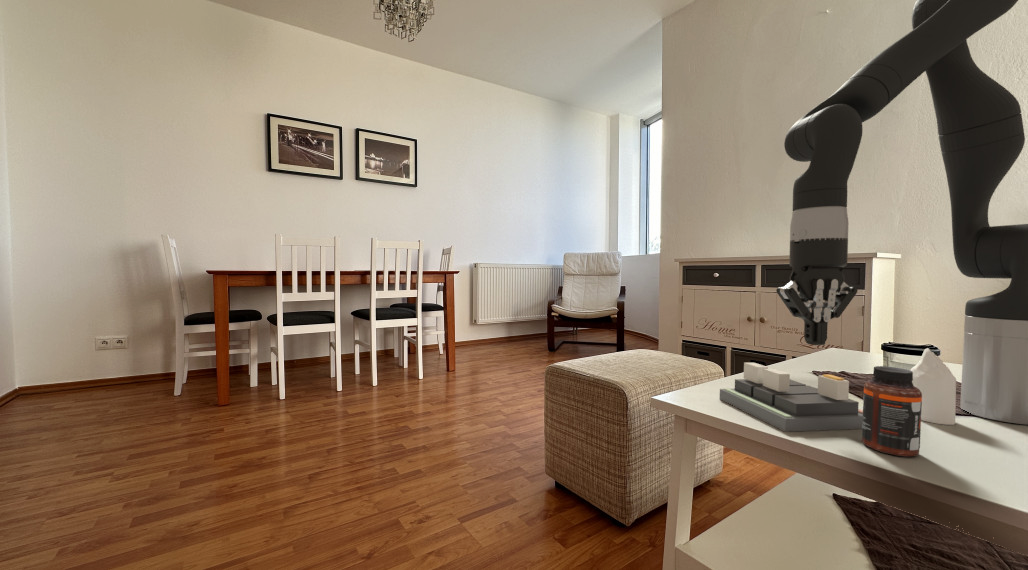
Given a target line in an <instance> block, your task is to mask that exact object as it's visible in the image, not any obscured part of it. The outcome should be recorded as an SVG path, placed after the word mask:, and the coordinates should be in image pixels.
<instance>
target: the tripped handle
mask: <svg viewBox="0 0 1028 570" xmlns="http://www.w3.org/2000/svg"><path fill="white" fill-rule="evenodd" d="M817 388H818V394H821V395H824V396H827V397H830V398H833V399H836V400H848V399H849V392H850V390H849V389H850V381H849V380H846V379H845V378H844V377H839V376H836V375H834V374H831V373H830V374H825V373H824V374H822V375H818V376H817Z"/></svg>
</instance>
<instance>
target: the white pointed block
mask: <svg viewBox="0 0 1028 570" xmlns="http://www.w3.org/2000/svg"><path fill="white" fill-rule="evenodd" d="M909 370H910V371H912V372H913V381H912V383H913V386H914V387H917V388H918V389H919V390H920V391H921V393H922V408H921V409H922V410H921V421H923V422H927V423H931V424H936V425H937V424H938V425H944V426H945V425H947V426H953V425H956V408H957V407H956V402H957V401H956V400H957V399H956V397H957V379H956V377H955V375H954V374H953V372H952V371H951V370H950V368H949V367H948V366H947V364H946V363H944V361H943V360H942V359H941V358H940V357H939V356H937V355H936V354H935V353H934V351H931V350H930V348H928V347H927V348H925V349H924V350H923V353H922V355H921V358H920V359H919V361H918V362H917V363H916V365H914V366H913V367H911V368H910V369H909Z"/></svg>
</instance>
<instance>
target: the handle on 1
mask: <svg viewBox="0 0 1028 570" xmlns="http://www.w3.org/2000/svg"><path fill="white" fill-rule="evenodd" d="M763 369H769V366H765V365H763V364H761V363H760V364H759V363H756V362H743V379H747V380H749V381H752V382H755V383H763Z"/></svg>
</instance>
